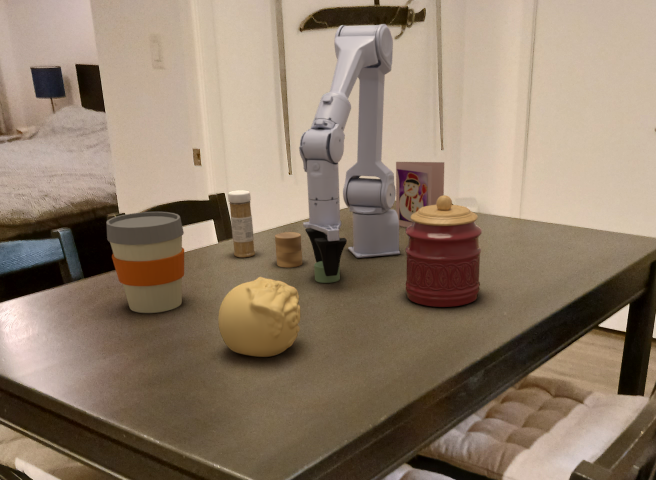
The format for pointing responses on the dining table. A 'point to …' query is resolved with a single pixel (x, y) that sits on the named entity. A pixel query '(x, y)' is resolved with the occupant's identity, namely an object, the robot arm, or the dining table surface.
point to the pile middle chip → (288, 242)
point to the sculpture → (260, 317)
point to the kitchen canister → (443, 255)
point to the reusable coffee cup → (148, 259)
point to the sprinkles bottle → (241, 223)
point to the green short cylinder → (321, 275)
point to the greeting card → (417, 187)
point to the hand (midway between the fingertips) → (326, 270)
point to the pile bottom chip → (289, 259)
